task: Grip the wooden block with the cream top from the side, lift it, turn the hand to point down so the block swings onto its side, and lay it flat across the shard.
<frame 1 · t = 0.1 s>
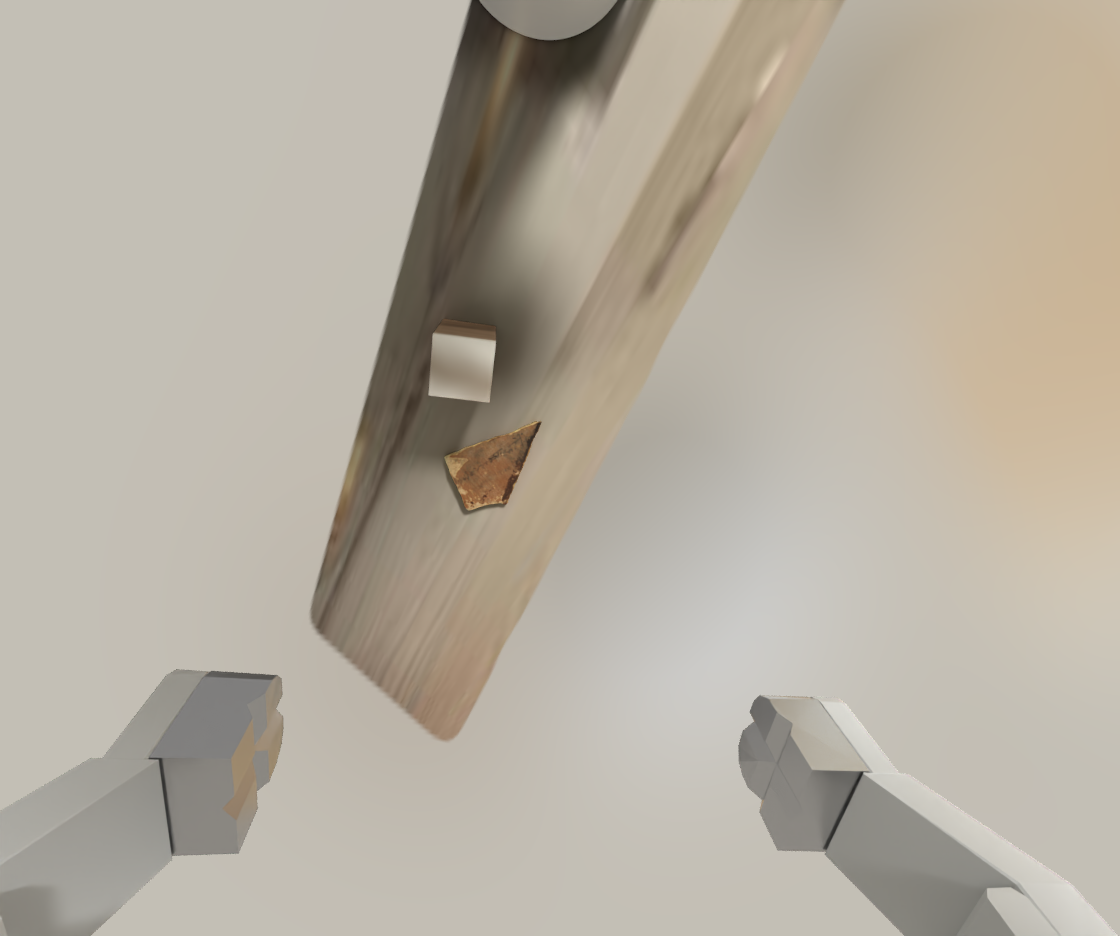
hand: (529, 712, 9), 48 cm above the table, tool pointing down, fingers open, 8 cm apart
wooden block: (467, 348, 54), on the table
shard: (486, 454, 59), on the table
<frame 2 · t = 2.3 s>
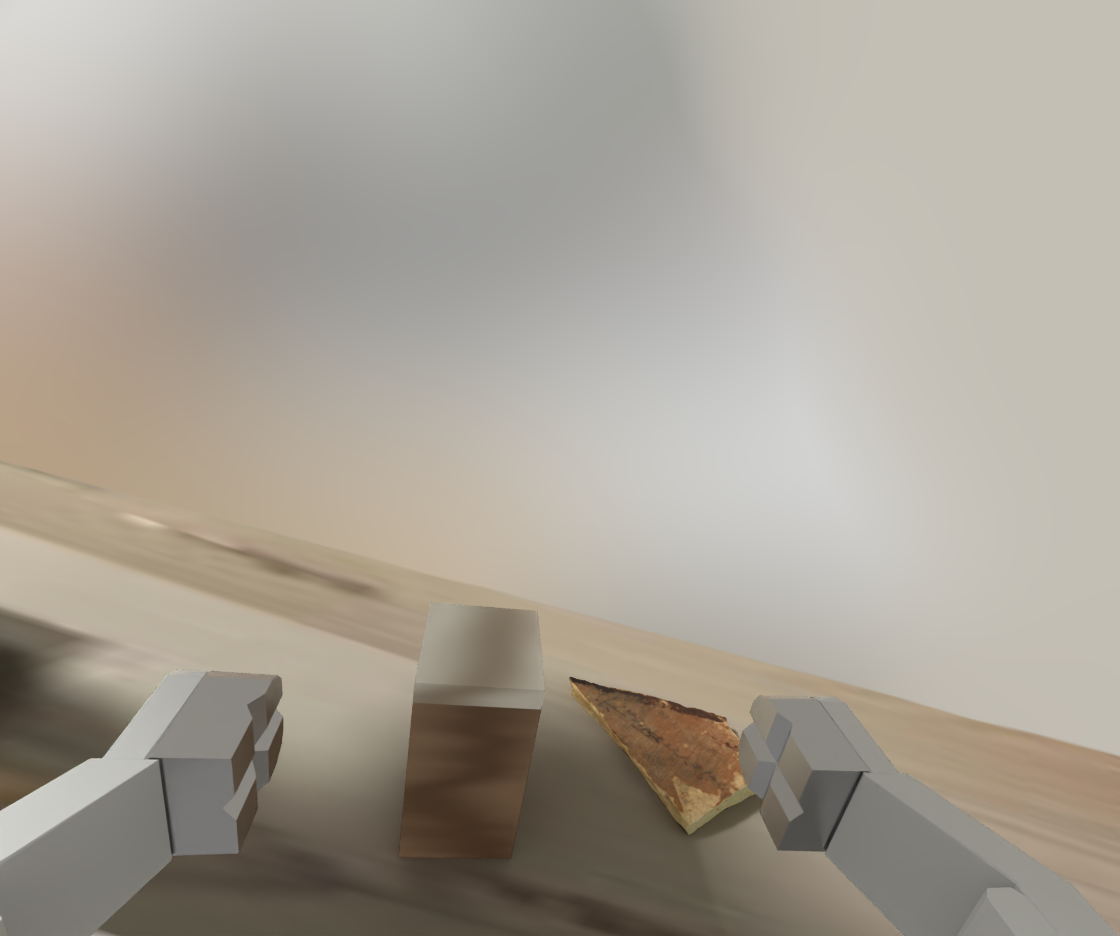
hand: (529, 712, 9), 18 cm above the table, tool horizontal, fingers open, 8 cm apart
wooden block: (459, 805, 27), on the table
shard: (655, 770, 32), on the table
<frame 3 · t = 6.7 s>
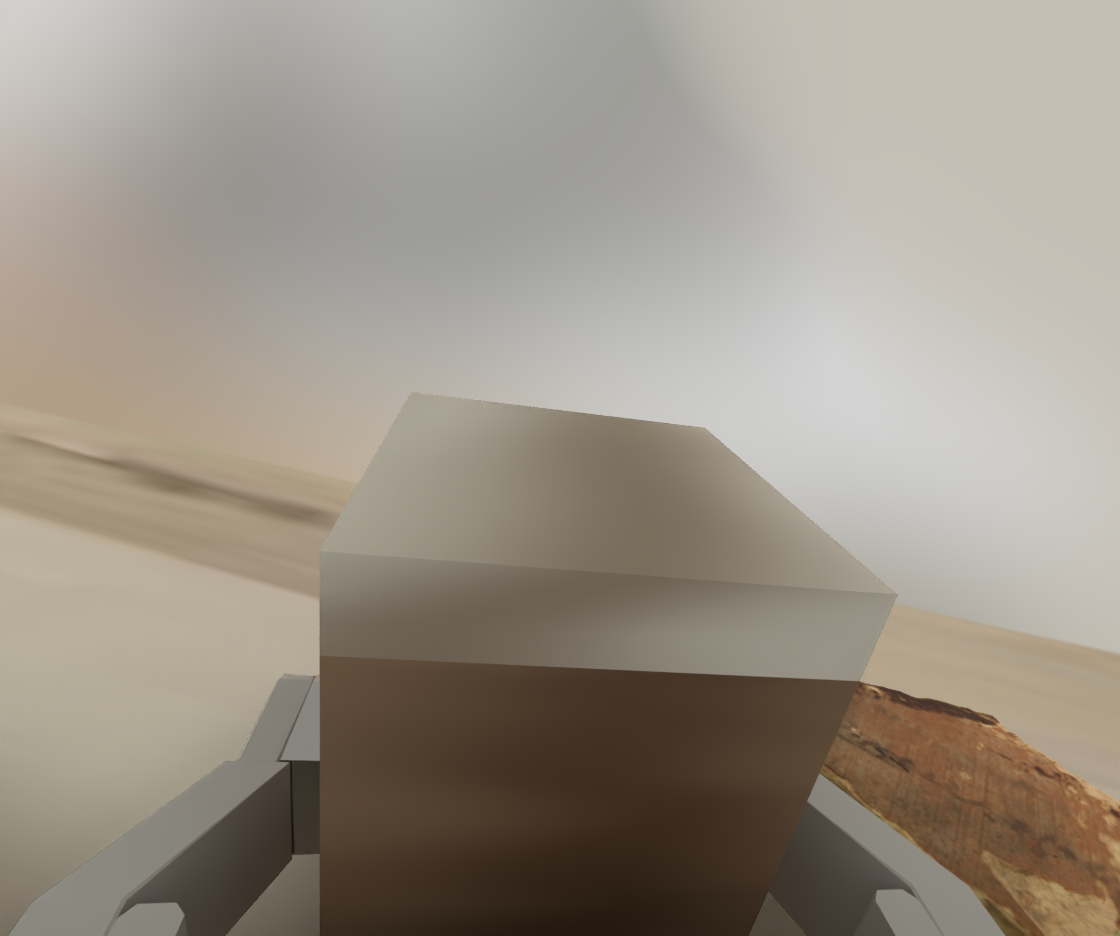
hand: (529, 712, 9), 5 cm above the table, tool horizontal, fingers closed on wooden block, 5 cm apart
shard: (896, 829, 15), on the table
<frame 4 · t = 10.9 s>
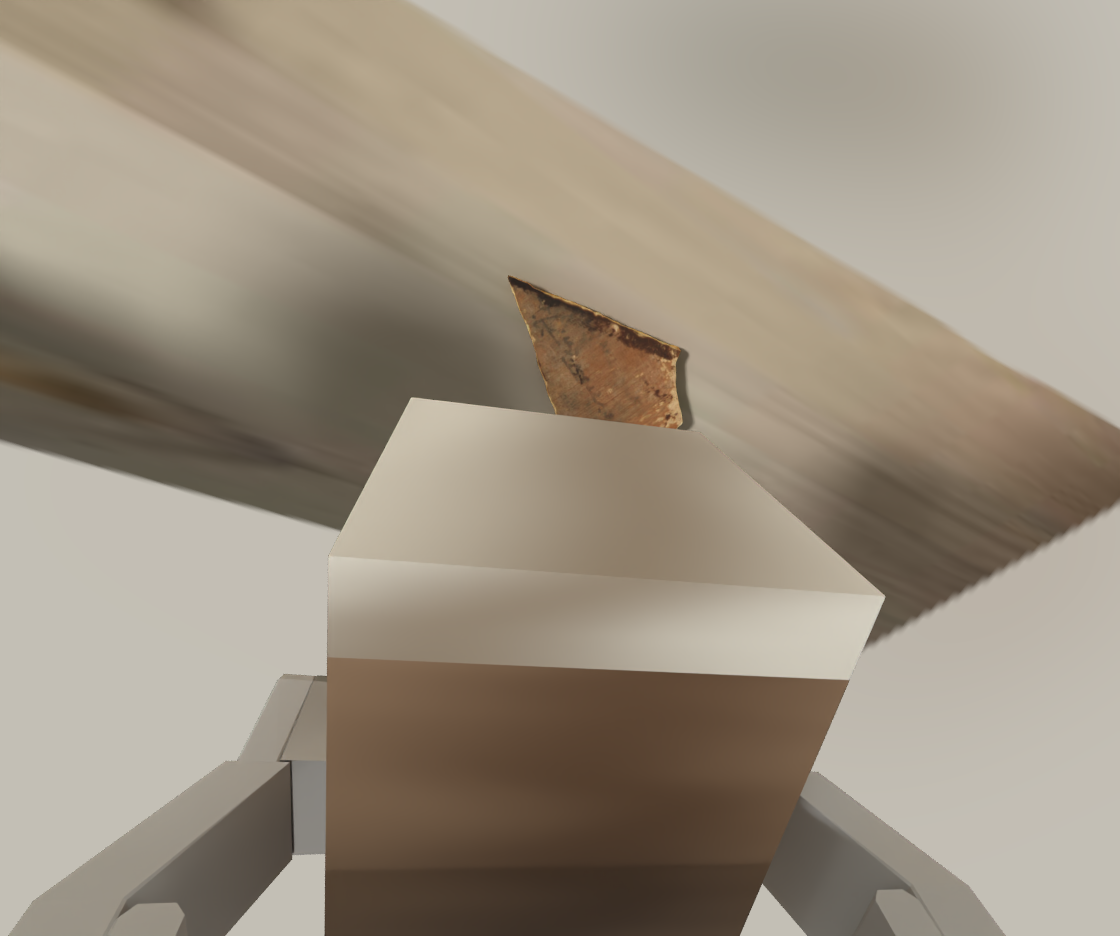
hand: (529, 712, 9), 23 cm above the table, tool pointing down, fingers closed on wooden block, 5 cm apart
shard: (580, 381, 32), on the table
when the fingers open (5 cm above the table, at t = 14.9 s): wooden block drops 2 cm, resting on shard.
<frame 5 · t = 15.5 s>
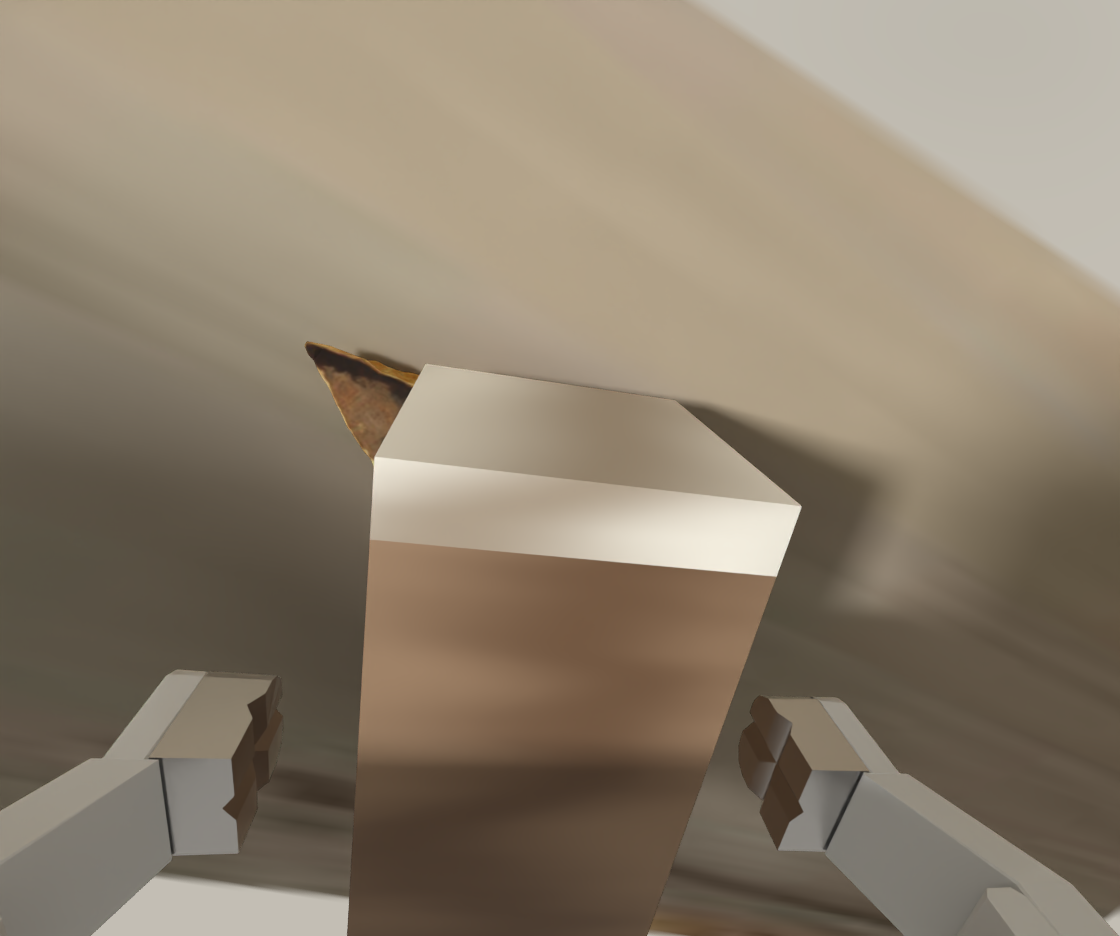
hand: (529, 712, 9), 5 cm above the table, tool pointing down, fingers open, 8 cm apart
wooden block: (490, 855, 12), point 4 cm above the table, tilted 90°, touching shard
shard: (521, 554, 15), on the table, touching wooden block
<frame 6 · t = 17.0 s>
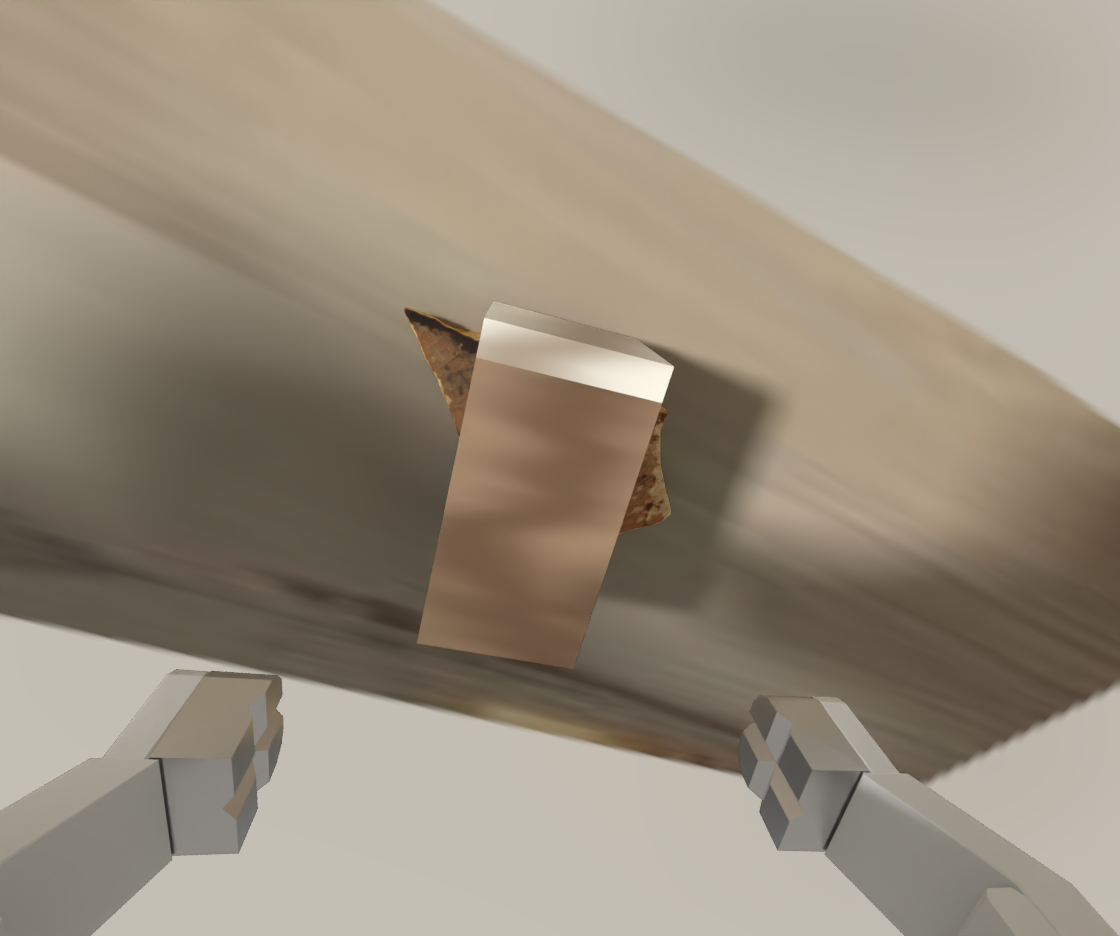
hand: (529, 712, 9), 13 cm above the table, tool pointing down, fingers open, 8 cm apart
wooden block: (499, 608, 20), point 4 cm above the table, tilted 90°
shard: (526, 452, 22), on the table
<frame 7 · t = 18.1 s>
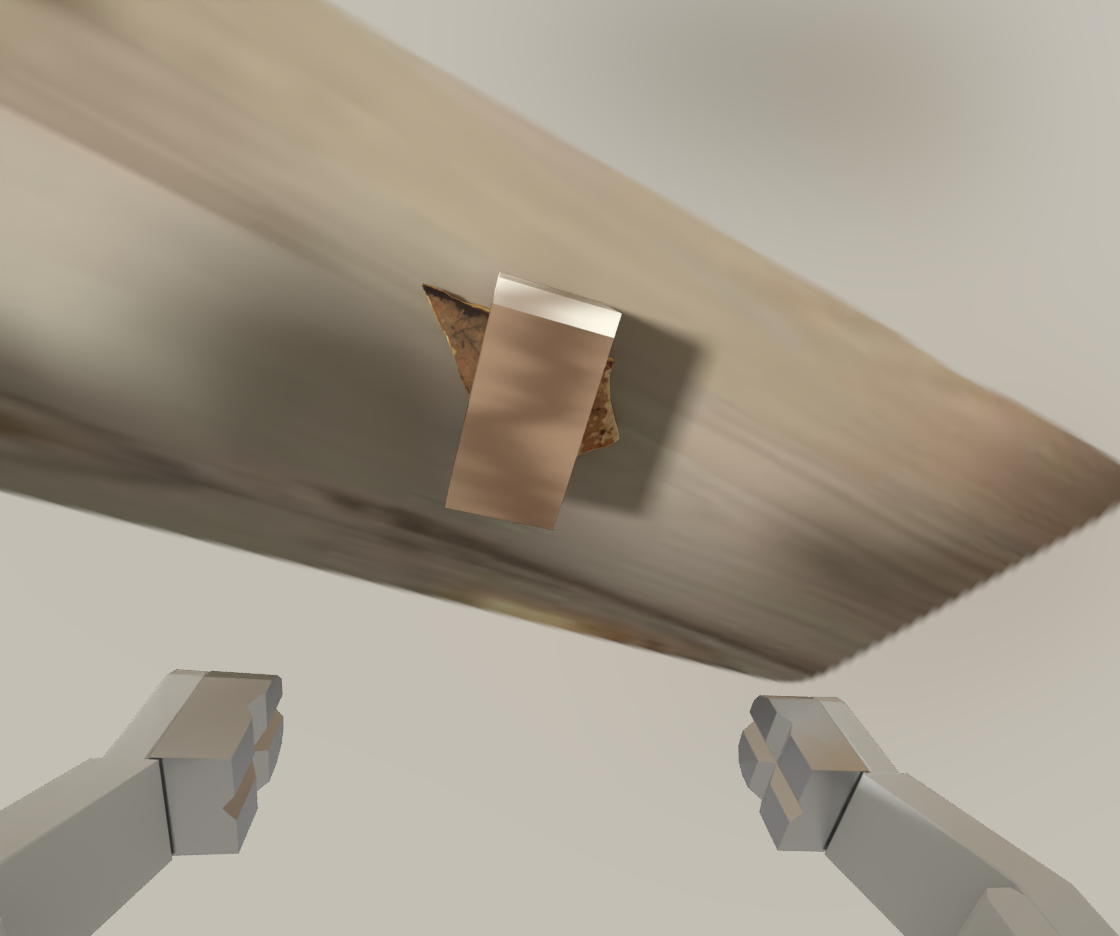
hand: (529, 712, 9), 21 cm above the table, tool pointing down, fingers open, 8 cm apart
wooden block: (499, 496, 27), point 4 cm above the table, tilted 90°, touching shard
shard: (511, 394, 30), on the table, touching wooden block
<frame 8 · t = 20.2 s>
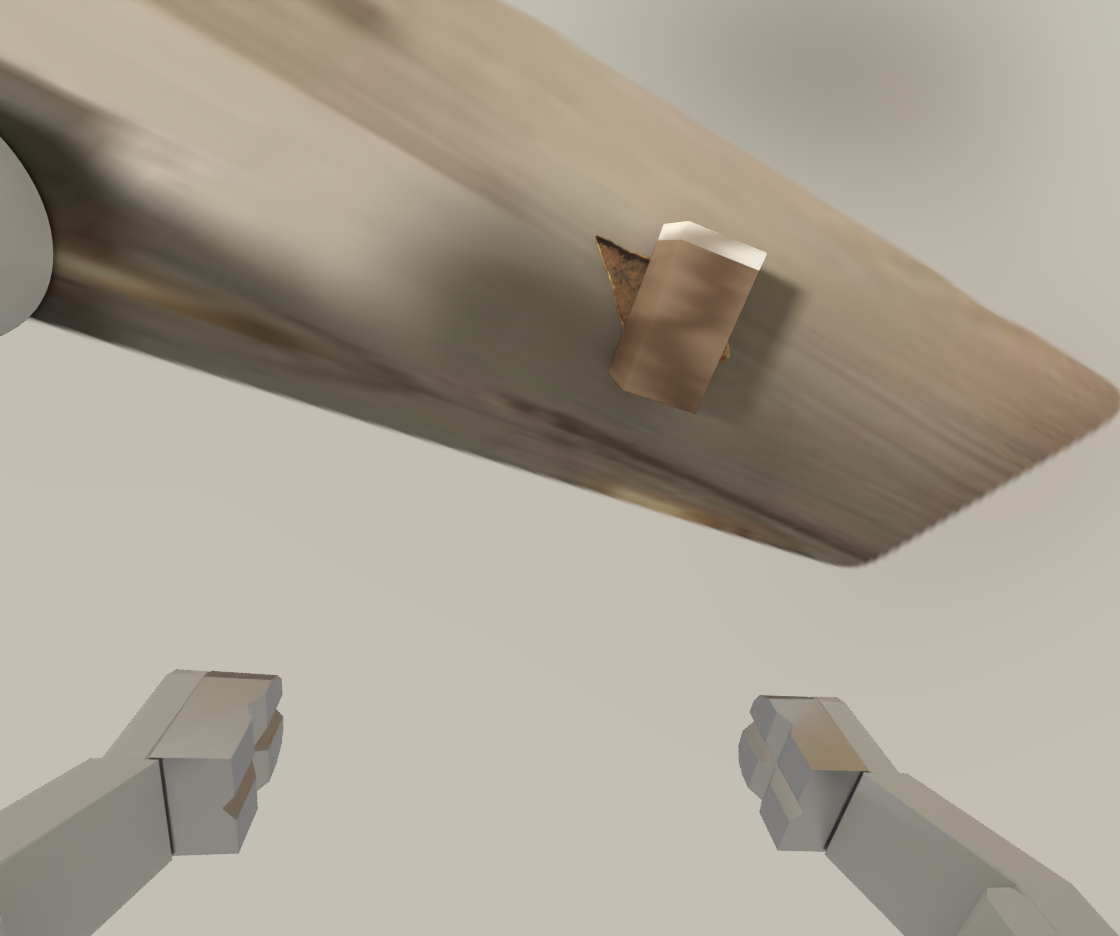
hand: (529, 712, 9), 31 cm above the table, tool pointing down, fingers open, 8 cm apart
wooden block: (649, 392, 37), point 3 cm above the table, tilted 90°, touching shard
shard: (646, 323, 39), on the table, touching wooden block
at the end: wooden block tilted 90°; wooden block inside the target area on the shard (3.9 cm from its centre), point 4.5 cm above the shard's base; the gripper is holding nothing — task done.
